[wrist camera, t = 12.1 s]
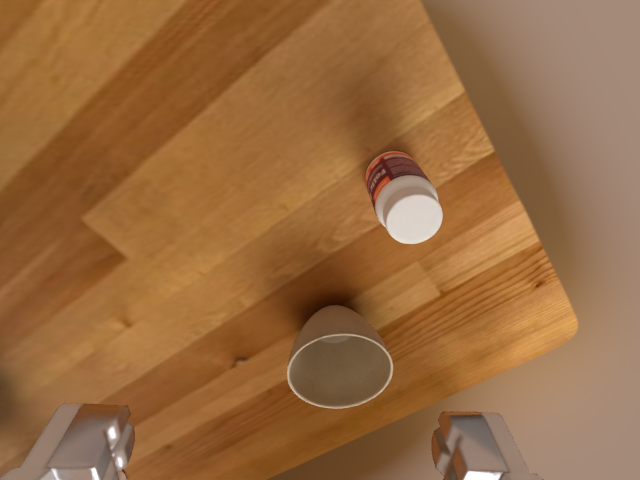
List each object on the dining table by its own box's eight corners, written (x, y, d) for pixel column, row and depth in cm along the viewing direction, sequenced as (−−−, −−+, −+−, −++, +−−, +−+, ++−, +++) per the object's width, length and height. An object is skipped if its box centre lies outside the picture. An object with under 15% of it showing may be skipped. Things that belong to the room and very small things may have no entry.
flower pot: (373, 355, 46) (384, 409, 40) (287, 353, 45) (285, 408, 39) (387, 287, 41) (402, 336, 35) (290, 283, 40) (288, 333, 34)
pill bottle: (366, 149, 34) (384, 188, 26) (422, 150, 34) (454, 188, 27) (362, 200, 36) (377, 249, 29) (414, 200, 36) (442, 249, 29)
